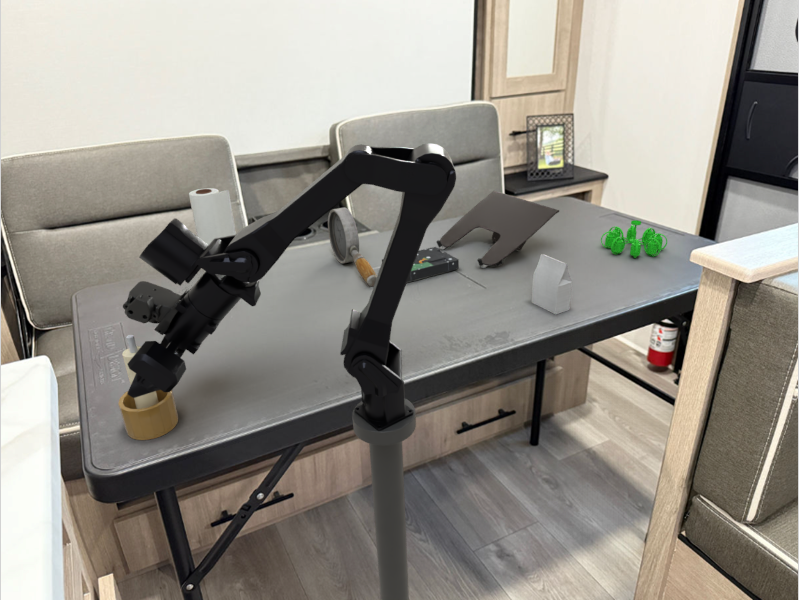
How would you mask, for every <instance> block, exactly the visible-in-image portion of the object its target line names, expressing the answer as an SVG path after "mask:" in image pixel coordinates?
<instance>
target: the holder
mask: <svg viewBox="0 0 799 600" xmlns="http://www.w3.org/2000/svg"><path fill="white" fill-rule="evenodd" d="M127 393H128V390H127V391H126V392H124V393H123V394H122V395H121V396H120V397H119V399H118V403H117V406H118V408H119V412H120V415H121V419H122V423H123V426H124V429H125V432H126V435H127V436H128V437H129V438H131V439H132V440H137V441H148V440H154V439H157V438H160V437H162V436H165V435H166V434H169V433H170V432H171V431H173V429H175V427H176V426H177V425H178V423H179V414H178V409H177V405H176V400H175V397H174V392H173V389H172V390H171V391H170V392H163V391H162V390H158V391H156V394H157V398H158V402H159V403H158V404H156V405H153V406H151V407H148V408H142V409H137V407H136V404H135V400H134V398H132V397H131V396H129V395H128V394H127Z"/></svg>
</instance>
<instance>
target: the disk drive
mask: <svg viewBox="0 0 799 600" xmlns="http://www.w3.org/2000/svg"><path fill="white" fill-rule="evenodd" d="M383 259H384V258H382V259H381V263H382V262H383ZM459 261H460V260H459V259H458V258H457V257H455V256H453V255H451V254H450V253H447V252H446V251H444V252H443V251H442V250H441V249H440V248H439V247H437V246H433V247H428V248H424V249H419V251H418V254H417V256H416V259H415V262H414V265H413V267H412V270H411V273H410V275H409V278H408V281H407V283H411V282H415V281H418V280H423V279H427V278H430V277H433V276H434V277H435V276H438V275H442V274H445V273H450V272H453V271H456V270H458V269H459V266H460V265H459V264H460V262H459Z"/></svg>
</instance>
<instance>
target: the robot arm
mask: <svg viewBox="0 0 799 600" xmlns="http://www.w3.org/2000/svg"><path fill="white" fill-rule="evenodd" d="M456 182H457V173H456V169H455V166H454V163H453V160H452V158H451V156H450V153H449V152H448V151H447V150H446V149H445V147H443V146H441V145H439V144H437V143H429V142H428V143H423V144H421V145H418V146H417V147H414V148H413V147H404V146H371V145H366V144H360V143H359V144H356V145H354V146H351V147H350V148H349V149H348V150H347V152H346V153H345V155H344V156H342V157H341V158H340V159H338V160H337V161H336V162H335V163H334V164H333V165H332V166H330V167H329V168H328V169H327V170H326V171H324V172H323V173H322V174H321V175H320V176H318V177H317V178H316V179H315V180H313V182H311V183H310V184H309V185H307V186H306V187H305V188H304V189H303V190H302V191H300V192H299V193H298V194H297V195H295V196H294V197H293V198H291V199H290V200H289V201H288V202H287V203H286V204H284V206H282V207H281V208H279V209H278V210H275V211H274V212H272V213H270V214H267V215H265V216H262V217H261V218H259V219H257V220H255V221H253V222H251V223H250V224H248V225H246V226H244V227H242V228H241V229H240V230H239V231H238V232H236V235H232V236H226V237H220V238H215V239H213V241H212V242H211V243H210V244H209V245H208V244H207V243H205V242H204V241H203V240H201V239H200V238H199V237H197V234H195V233H193V232H192V231H191V230H190V229H189V228H188V227H187V226H186V225H185V224H184V223H183V222H182V221H181V220H179V219H178V218H175V217H174V218H173V219H172V220H171V221H170V222H168V223H167V225H166V226H165V228H164V229H163V230H162V231H160V233H159V234H158V235H157V236H156V237H154V238H153V240H151V241H150V242H149V243H148V244H147V245H146V246H145V248H144V249H143V251H142V252H141V254H140V255H139V257H138V258H139V259H140V260H141V261H143V262H144V263H146V264H147V265H148V266H149V267H151V268H153V269H154V270H155V271H157V273H159V274H161V275H162V276H164V277H165V278H167V280H169V281H170V282H172V283H173V284H175V285H178V286H179V287H181V286H182V285H183V283H184V282H185V283H187V284H190V282H192V280H193V279H194V278H195V276H196V275H197V274H198V273H199V272H200V270H201V269H202V270H203V271H204V270H205V271H206V272H205V273H204V272H203V274H202V275H201V276H200V277H199V278H198V280H197V281H196V282H195V283H194V285H193V286H192V287H191V288H190V289H185V291H184V292H183V294H179V293H176V292H174V291H172V290H171V289H169V288H167V287H163V286H161V285H158V284H155V283H152V282H149V281H144V280H141V281H139V282H137V283H136V284H135V285H134V286H133V288H132V289H130V290H129V292H128V296H127V300H126V301H125V302H124V303H123V304H122V309H123V310H124V314H125V315H126V317H127V318H128V319H129V320H133V321H135V322H139V323H141V324H147V323H150V324H155V325H156V324H157V325H156V326H155V328H154V329H153V330H154V331H155V332H157V333H158V334H160V335H161V336H163V337H162V339H161V341H160V342H158V341H156V340H146V341H144V342H143V344H142V345H141V347H140V349H139V350H138V351H137V352H136V354H135V355H134V356H133V357H132V359H131V360H130V361H129V362H128V367H129V369H130V370H132V371H133V372H135V373H136V375H135V377H134V379H133V382H132V384H131V385H130V387H129V389H128V390H127V391H128V393H127V394H128V395H129V396H131V397H132V398H136V397H139V396H142V395H145V394H148V393H151V392H155V391H158V390H162V391H163V392H170V391H171V390H172V391H173V390H174V388H175V387H176V386H177V385H178V384H179V382H180V381H181V379H182V377H183V376H184V374H185V372H186V371H187V365H186V362H185V360H184V359H183V358H182V356H183V355H184V354H185V352H186V351H187V352H189V353H191V354H192V355H193V356H194V355H196V353H197V352H198V350H199V348H201V346H202V344H203V342H204V341H205V340H206V339H207V338H208V336H210V335H213V334H214V332H216V330H217V329H218V326H219V325H220V323H221V322H222V321H223V320H224V318H225V317H226V316H227V315H228V314H229V313H230V311H231V310H232V309H233V308H234V307H235V306H236V305H237V304H238V303H239V302H240V300H243V301H244V302H246V304H248V305H249V306H250V307H256V305H257V304H258V301H259V299H260V297H261V295H262V292H261V289H260V285H259V284H260V280H262V279H263V278H264V277H265V275H267V273H268V272H269V271H270V270H271V269H272V268H273V266H274V265H275V264H276V262H278V261H279V259H280V258H281V257H282V256H283V254H284V253H285V251H286V250H287V249H288V247H290V245H291V244H292V243H293V242H294V240H295V239H297V238H298V237H299V236H300V235H302V234H303V233H304V232H306V231H307V230H308V229H309V228H310V227H311V226H312V225H314V224H315V223H316V222H317V221H319V220H321V218H323V217H324V216H325V215H326V214H327V213H330V211H331V210H333V209H335V207H336V206H338V205H339V204H340V203H341V202H342V201H344V200H345V199H346V198H347V197H348V196H350V195H351V194H352V193H354V192H355V191H356V190H357V189H359V188H360V187H362V185H368V186H369V185H370V186H374V187H378V188H382V189H386V190H390V191H394V192H399V193H401V201H400V208H399V213H398V215H397V219H396V222H395V225H394V227H393V230H392V233H391V236H390V238H389V242H388V244H387V247H386V250H385V254H384V256H383V258H382V259H383V262H382V261H381V265H380V268H379V270H378V273H377V279H376V282H375V285H374V286H373V288H372V290H371V293H370V296H369V299H368V302H367V304H366V306H365V307H364V308H363V309H362V311H358V310H355V309H354V308H352V309H351V313H350V318H349V323H348V325H347V327H346V328H345V329H344V330H343V335H342V342H341V348H340V353H339V354H340V356H344V357H343V368H344V369H345V371H346V372H347V374H349V375H350V376H351V377H352V378H354V379H356V382H357V383H358V385H359V387H360V395H361V401H362V402H363V404H362V405H360V406H357V407H356V406H355V407H353V410H354V412H355V413H356V414H357V415H359V416H360V417H361V418H362V419H364V420H365V421H366V422H367V423H369V424H370V425H371V426H372V427H374V428H375V429H376V430H377V431H382V430H384V429H386V428H388V427H390V426H392V425H394V424H396V423H398V422H400V421H402V420H404V419H406V418H408V417H410V416H412V415H413V414H414V410H412V409H411V408H410V407H408V406H407V405H405V399H406V397H405V395H406V393H405V381H404V380H403V350H402V349H401V348H400V347H399V346H398V345H396V344H395V343H394V342H393V341H391V333H392V327H393V321H394V318H395V315H396V313H397V310H398V307H399V306H400V302H401V299H402V296H403V295H404V291H405V289H406V286H407V283H408V282H407V281H408V278H409V275H410V273H411V270H412V267H413V265H414V262H415V259H416V256H417V254H418V251H419V250H420V248H421V246H422V242H423V240H424V237H425V235H426V232H427V231H428V228H429V226H430V225H431V223H432V222H433V221H434V220H435V219H436V218H437V216H438V215H439V213H440V212H441V210H442V209H443V207H444V206H445V204H446V202H447V200H448V199H449V197H450V196H451V194H452V192H453V191H454V188H455V186H456Z"/></svg>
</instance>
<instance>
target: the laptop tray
mask: <svg viewBox="0 0 799 600" xmlns="http://www.w3.org/2000/svg"><path fill="white" fill-rule="evenodd" d="M558 213H560V209H556V208H554V207H550V206H548V205H547V206H546V205H543V204H540V203H537V202H533V201H529V200H526V199H524V198H520V197H517V196H513V195H509V194H508V193H507V194H506V193H503V192H501V191H496V190H493V191H492V192H490V193H489V194H487V195H486V196H485V197H484V198H483V199H482V200H480V201H479V202H478V203H477V204H475V206H473V207H472V208H471V209H469V211H468V212H467V213H465V214H464V215H463V216H462V217H461V218H460V219H459V220H458V221H457V222H456V223H454V224H453V225H452V226H451V227H450V228H449V229H448V230H447V231H446V232H445V233H444V234H443V235H442V236H441V237H440V239H438V240H436V244H437V247H438V249H440V251H443V250H445V249H447V248H450V247H452V246H453V245H454V244H456V243H457V242H459V241H460V240H462V239H463V238H465V236H467V235H468V234H470V233H471V232H472V231H474V230H475V229H478V228H480V229H484V230H488V231H489V232H492V236H491V240H492V241H493V242H495V243H494V244H493V245H492V246H490V248H489V249H488V250H487V251H486V252H485V254H484V255H483V256H482V257H481V258H480V257H479V258H477V263H478V265H479V267H480V268H481V269H485V268H487V267H488V266H496V267H498V266H500V265H503V264H504V259H506V258H507V257H508V256H510V255H511V254H513V252H515V251H518V252H519V251H521V250H522V249H523V248H524V246H525V244H526V242H527V241H528V240H529V239H530V238H531V237H533V236H534V235H535V234H536V233H537V232H538V231H539V230H541V228H543V227H544V226H545V225H546V224H547V223H548V222H549V221H550V220H551V219H552V218H553V217H554V216H555V215H557V214H558Z"/></svg>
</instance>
